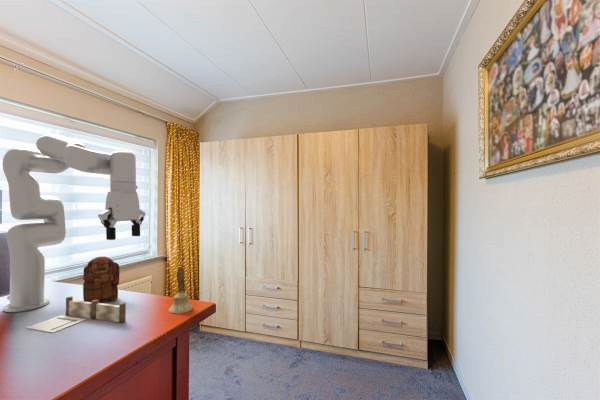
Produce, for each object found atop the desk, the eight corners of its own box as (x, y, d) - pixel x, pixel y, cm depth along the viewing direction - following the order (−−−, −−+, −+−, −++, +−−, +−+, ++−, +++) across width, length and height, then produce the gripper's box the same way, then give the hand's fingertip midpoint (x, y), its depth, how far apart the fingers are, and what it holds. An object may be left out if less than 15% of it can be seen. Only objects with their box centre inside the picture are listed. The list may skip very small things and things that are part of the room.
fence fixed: (64, 315, 100) (64, 298, 100) (70, 312, 102) (70, 296, 102) (94, 319, 96) (94, 302, 96) (99, 317, 98) (100, 300, 98)
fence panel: (95, 319, 96) (95, 301, 96) (100, 317, 98) (100, 299, 98) (122, 323, 93) (122, 305, 93) (126, 321, 95) (127, 303, 95)
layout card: (26, 328, 89) (26, 327, 89) (61, 316, 99) (61, 315, 99) (53, 333, 86) (53, 331, 86) (85, 320, 96) (85, 318, 96)
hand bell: (181, 315, 100) (181, 270, 100) (163, 312, 103) (163, 268, 103) (197, 307, 108) (197, 265, 108) (180, 304, 111) (180, 263, 111)
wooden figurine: (83, 307, 107) (83, 260, 107) (82, 302, 112) (83, 257, 112) (120, 300, 114) (120, 256, 115) (117, 296, 119) (118, 254, 119)
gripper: (135, 189, 106) (136, 234, 106) (90, 187, 89) (90, 241, 89) (152, 188, 104) (152, 235, 104) (108, 186, 87) (109, 241, 87)
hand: (124, 237), depth 97 cm, fingers open, 9 cm apart
